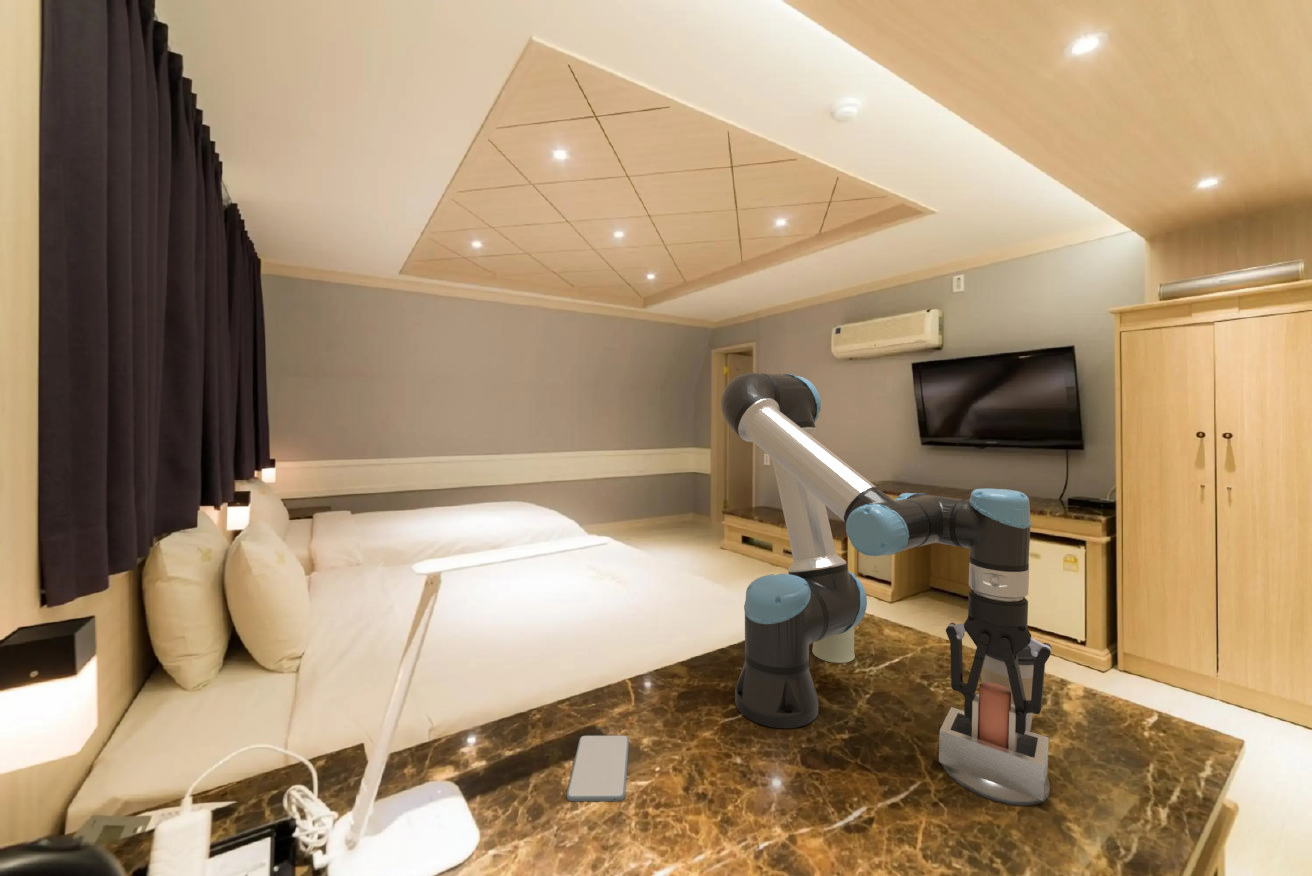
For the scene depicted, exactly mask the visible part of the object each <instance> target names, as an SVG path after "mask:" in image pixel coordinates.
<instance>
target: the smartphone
mask: <svg viewBox="0 0 1312 876" xmlns="http://www.w3.org/2000/svg"><path fill="white" fill-rule="evenodd" d="M578 740H579V741H578V745H577V748H576V752H575V757H574V762H573V766H572V769H571V774H570V780H569V782H568V783H569V784H568V787H567V791H566V800H568V802H621V801H623V800H624V799H625V797H626V788H627V787H626V785H627V775H628V760H629V758H628V757H629V747H630V737H629V736H628V735H625V734H624V735H621V734H620V735H615V734H614V735H605V734H603V735H582V736H580V737H579V739H578Z"/></svg>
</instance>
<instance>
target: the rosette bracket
mask: <svg viewBox="0 0 1312 876" xmlns="http://www.w3.org/2000/svg"><path fill="white" fill-rule="evenodd" d="M938 739H939V741H938V743H939V745H938V762H939V763H940V764H941V766H942V768H943V770H944V771H945V773H946V774H947V775H948V776H949V777H950V778H951V779H953V781H955V782H956V783H957V784H959V785H960V786H962V787H963V788H964V789H966V790H968V791H969V792H971V793H974V795H975V794H976V795H978V796H980V797H982V798H984V799H987V800H991V801H992V802H996V803H1000V804H1004V805H1009V806H1014V807H1015V806H1017V807H1018V806H1019V807H1031V806H1036V805H1040V804H1042V803H1044V802H1045V801H1046V800H1047V799H1048V798H1049V797H1050V789H1051V788H1050V787H1051V786H1050V785H1051V784H1050V783H1051V782H1050V780H1049V777H1048V766H1049V765H1048V763H1049V736H1045V735H1042V734H1039V733H1035V732H1032V731H1031V730H1030V731H1026V730H1025V733H1024V735H1022V734H1018V733H1017V747H1016V752H1015V751H1012V750H1009V749H1006V748H1003V747H1000V746H997V745H994V744H991V743H988V742H985V741H982V740H979V739H976V738H973V737H972V719H970V718H967V717H966V716H965V714H964V710H962V709H958V708H955V707H950V709H949V711H948V713H947V714H946V716H945V718H944V720H943V722H942V725H941V727H940V729H939V737H938Z"/></svg>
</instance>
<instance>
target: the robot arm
mask: <svg viewBox="0 0 1312 876" xmlns="http://www.w3.org/2000/svg"><path fill="white" fill-rule="evenodd" d="M821 408H822V401H821V397H820V393H819V391H818V390H817V388H816V386H815V385H814V383H812V381H810V380H808V379H807V378H806V377H802V376H799V375H795V374H791V373H790V374H789V373H782V374H780V373H779V374H777V373H762V372H761V373H760V372H746V373H743V374H739V375H738V376H736V377H735V378H732V379H731V381H730V382H728V384H727V385H726V386H725V388H724V390H723V393H722V396H721V399H720V409H721V414H722V417H723V419H724V420H725V422H726V423H727V425H728V426H729V427H730V429H731V430H732V431H733V432H734V433H735V434H736V435H737V436H738V437H739V438H740V439H742V441H745V442H747V443H755V445H757V446H758V447H759V449H761V450H762V451H764V453H766V455H768V456H769V457H770V458H771V459H772V465H773V470H774V473H775V479H776V483H777V484H776V485H777V488H778V492H779V498H780V502H781V506H782V512H783V516H784V521H785V528H786V530H787V532H786V533H787V536H788V541H789V546H790V550H791V555H792V562H791V564H790V565H789V568H788V569H787V573H778V574H766V575H763V576H760V577H758V578H756V579H754V580H753V581H751V582H750V583H749V584H748V586H747V587H746V592H745V601H744V605H743V610H744V662H743V667H742V668H741V672H740V675H739V676H738V681H737V683H736V686H735V691H734V692H735V693H734V695H735V696H734V698H735V699H734V702H735V707H736V708H737V710H738V712H739V713H740V714H741V715H743V716H744V717H745V718H747V719H748V720H750V721H752V722H754V723H756V724H759V725H762V726H766V727H770V728H775V729H776V728H777V729H794V728H799V727H804V726H807V725H809V724H811V723H813V722H814V721H815V720H816V719H817V716H818V715H819V696H818V693H817V690H816V687H815V684H814V681H813V678H812V674H811V671H810V662H809V661H810V660H809V659H810V645H811V644H813V642H816V641H819V640H822V639H825V638H827V637H830V636H833V635H836V634H842V633H844V632H846V631H848V630H849V629H850V628H853V627H854V628H855V627H856V626H857V625H859V624H860V623H861V621H862V620H863V619H864V616H865V614H866V612H867V607H868V606H867V605H868V600H867V599H868V598H867V593H866V592H867V591H866V590H865V587H864V585H863V583H862V581H861V580H860V579H858V578H857V576H856V574H854V572H852V571H849V568H848V563H847V561H846V560H845V559H844V558H842V557H841V556H839V554H838V553H837V550H836V547H835V542H834V538H833V534H832V530H831V525H830V521H829V515H828V510H827V508H828V509H829V510H830V511H831V512H832V513H834V514H835V515H836V516H837V517H838V518H839V519H840V520H842V521H843V522H844V523H845V532H846V535H847V537H848V539H849V541H850V544H851V545H852V547H853V548H854V549H855V550H856V551H858V552H860V553H861V554H862V555H865V556H869V557H880V556H890V555H891V556H893V555H896V554H898V553H900V552H902V551H907V550H909V549H913V548H914V549H915V548H919V547H923V546H927V545H931V544H942V545H949V546H952V547H953V546H954V547H958V548H964V549H965V548H966V549H968V552H969V553H968V554H969V561H968V562H969V565H968V567H969V569H968V586H969V588H970V590H969V591H968V595H967V596H968V604H967V606H968V607H967V610H968V611H967V618H966V620H965V621H964V622H963V623H959V624H956V623H955V622H950V623H949V624H948V625H947V627H946V629H945V634H946V635H947V638H948V640H949V644H950V645H949V646H950V685H951V686H950V687H951V689H952V690H953V691H954V692H959V693H960V694H962V695H963V697H964V705H963V706H964V708H963V709H964V710H963V711H964V714H965V716H966V717H967V718H970V719H972V737H973V738H976V739H978V733H979V694H977V693H976V692H977V688H978V684H979V680H980V679H981V671H982V667H983V664H984V660H985V657H986V654H988V655H996V656H998V657H1001V658H1004V661H1005V665H1006V667H1007V672H1008V676H1009V681H1010V686H1011V691H1012V696H1013V700H1014V705H1011V708H1010V711H1009V744H1008V749H1009V750H1012V751H1015V752H1016V747H1017V733H1018V734H1022V735H1024V733H1025V730H1026V714H1027V713H1033V714H1034V715H1040V714H1041V712H1042V706H1043V696H1044V694H1043V693H1044V686H1045V685H1044V683H1045V682H1044V681H1045V673H1046V671H1045V670H1046V663H1047V661H1048V660H1049V658H1050V657H1051V655H1052V654H1051V653H1052V649H1053V648H1052V645H1050V643H1047V642H1044V643H1042V642H1041V641H1039V640H1037V639H1035V638H1033V637H1032V634H1031V632H1030V630H1029V627H1028V623H1029V621H1028V617H1029V600H1028V599H1027V598H1026V597H1027V596H1028V595H1029V587H1030V586H1029V584H1030V582H1029V581H1030V561H1029V559H1030V545H1031V544H1030V543H1031V541H1030V540H1031V528H1032V522H1031V507H1030V506H1031V505H1030V499H1029V497H1028V496H1027V495H1026V494H1025V493H1023V492H1021V491H1018V490H1012V489H1005V488H989V487H988V488H987V487H986V488H976V489H974V490H972V491H971V494H970V498H969V499H961V498H954V497H947V496H946V497H945V496H938V495H934V494H933V495H932V494H927V493H924V492H923V493H922V492H919V493H914V492H913V493H912V492H904V493H901V494H900V495H898V497H897V498H896V499H893V498H891V497H890V496H889V495H887V494H886V492H885V493H884V492H883V491H882V490H881V489H879V488H878V487H877V486H876V485H875V484H873V483H872V482H870V481H869V480H868V479H867V478H866V477H864V476H863V475H862V474H861V473H859V472H858V471H857V470H855V469H854V468H853V467H851V466H850V465H849V464H848V463H846V462H845V461H844V460H842V458H840V457H839V456H838V455H836V454H835V453H834V452H832V451H831V450H830V449H829V448H828V447H826V446H825V445H824V444H822V443H821V442H819V441H818V440H817V439H816V438H814V437H813V435H814V434H815V433H816V431H817V429H816V424H815V423H816V421H817V420H818V419H819V413H820V412H821ZM826 507H827V508H826ZM965 632H966V633H967V635H968V636H969V637H970V639H971V641H972V642H973V643H974V646H976V650H975V652H974V656H973V661H972V664H971V668H970V672H969V675H968V678H967V682H964V673H963V672H964V671H963V670H964V669H963V667H964V665H963V638H964V637H965ZM1027 645H1028V646H1030V648H1031V654H1032V655H1033V656H1034V657H1035V661H1034V668H1033V681H1032V694H1031V700H1026V697H1025V692H1024V688H1023V683H1022V678H1021V674H1020V669H1019V664H1018V656H1017V654H1018V653H1019V652H1020V651H1021V650H1023V649H1024V648H1025V647H1026V646H1027Z"/></svg>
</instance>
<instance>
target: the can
mask: <svg viewBox="0 0 1312 876" xmlns="http://www.w3.org/2000/svg"><path fill="white" fill-rule="evenodd" d="M811 652H812V654H813V655H814V656H815V657H817V658H818V659H819V660H822V661H824V662H829V663H833V664H834V663H835V664H845V663H846V664H847V663H850V662H852V661H853V660H855V657H856V655H855V627H853V628H850V629H849V630H848V631H846V632H844V633H842V634H836V635H833V636H830V637H827V638H825V639H822V640H819V641H816V642H813V643H812V649H811Z"/></svg>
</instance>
